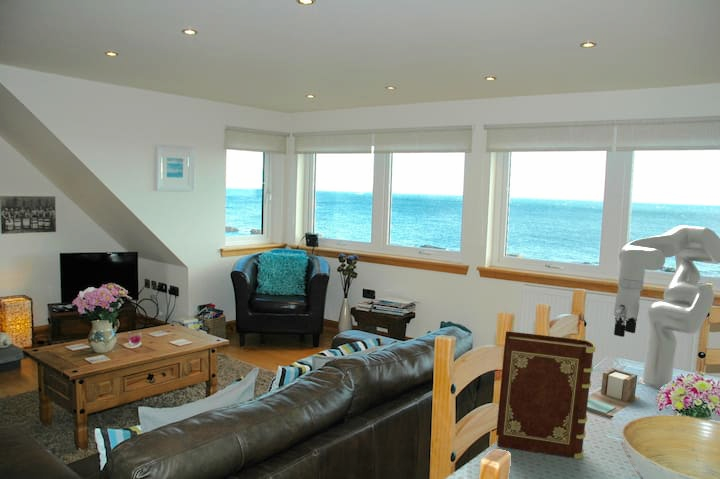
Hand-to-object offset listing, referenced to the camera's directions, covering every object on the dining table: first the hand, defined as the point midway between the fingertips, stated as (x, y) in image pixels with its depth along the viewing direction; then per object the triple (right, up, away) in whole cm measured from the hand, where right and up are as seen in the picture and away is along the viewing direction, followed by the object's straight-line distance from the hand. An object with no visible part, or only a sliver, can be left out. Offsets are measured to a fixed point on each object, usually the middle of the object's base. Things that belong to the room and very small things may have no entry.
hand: (624, 333), depth 188 cm
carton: (-1, -22, +2) cm, 22 cm away
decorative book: (-42, -24, -39) cm, 62 cm away
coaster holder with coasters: (-7, -23, -3) cm, 24 cm away
